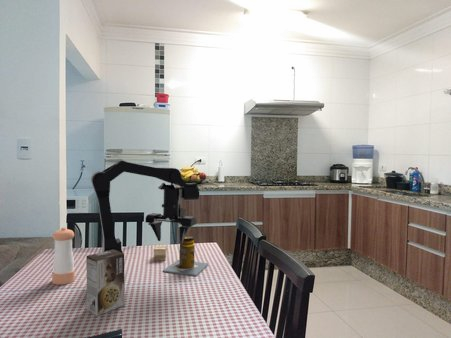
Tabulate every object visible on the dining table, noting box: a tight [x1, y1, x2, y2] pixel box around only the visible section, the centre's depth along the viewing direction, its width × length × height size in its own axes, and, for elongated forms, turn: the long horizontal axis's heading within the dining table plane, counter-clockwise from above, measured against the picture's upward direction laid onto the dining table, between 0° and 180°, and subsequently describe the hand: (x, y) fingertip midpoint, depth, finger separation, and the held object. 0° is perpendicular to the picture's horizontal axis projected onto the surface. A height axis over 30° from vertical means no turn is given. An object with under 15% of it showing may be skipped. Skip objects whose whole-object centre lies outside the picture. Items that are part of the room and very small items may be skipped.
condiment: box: [172, 235, 198, 271], centre depth 136 cm, size 7×8×12 cm
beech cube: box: [153, 245, 168, 261], centre depth 148 cm, size 5×5×5 cm
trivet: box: [162, 259, 210, 277], centre depth 136 cm, size 14×14×1 cm
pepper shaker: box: [51, 227, 76, 285], centre depth 120 cm, size 7×7×19 cm
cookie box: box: [86, 250, 126, 316], centre depth 100 cm, size 9×6×16 cm
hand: (170, 242), depth 127 cm, fingers open, 9 cm apart
